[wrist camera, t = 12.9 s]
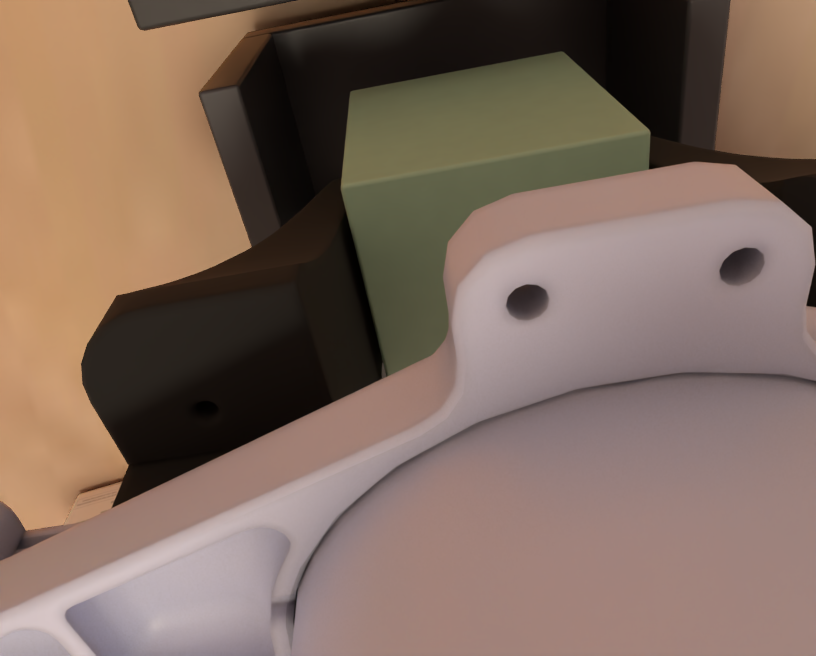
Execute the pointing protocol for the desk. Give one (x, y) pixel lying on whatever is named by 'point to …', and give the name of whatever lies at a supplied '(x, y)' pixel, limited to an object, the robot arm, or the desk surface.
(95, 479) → the desk surface
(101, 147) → the desk surface
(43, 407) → the desk surface
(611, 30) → the black drawer
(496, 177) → the block
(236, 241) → the desk surface
